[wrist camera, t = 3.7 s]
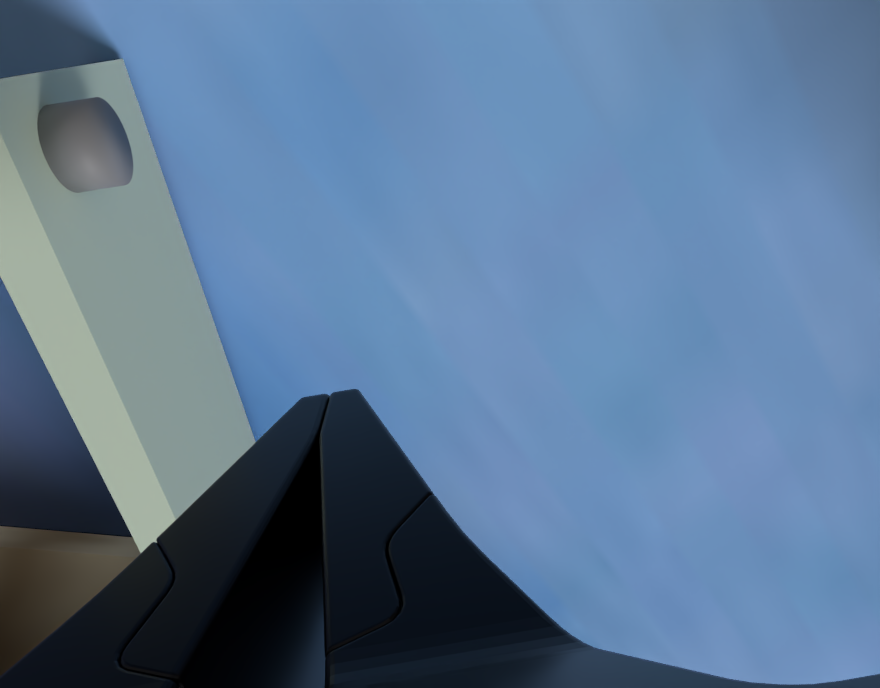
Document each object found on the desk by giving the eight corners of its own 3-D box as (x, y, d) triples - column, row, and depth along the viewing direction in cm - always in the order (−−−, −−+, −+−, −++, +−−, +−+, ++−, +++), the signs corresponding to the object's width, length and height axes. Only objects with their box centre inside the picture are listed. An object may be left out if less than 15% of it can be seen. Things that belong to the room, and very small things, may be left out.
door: (316, 544, 26) (297, 712, 19) (251, 555, 26) (211, 726, 19) (159, 52, 17) (35, 73, 11) (60, 68, 17) (-121, 98, 11)
